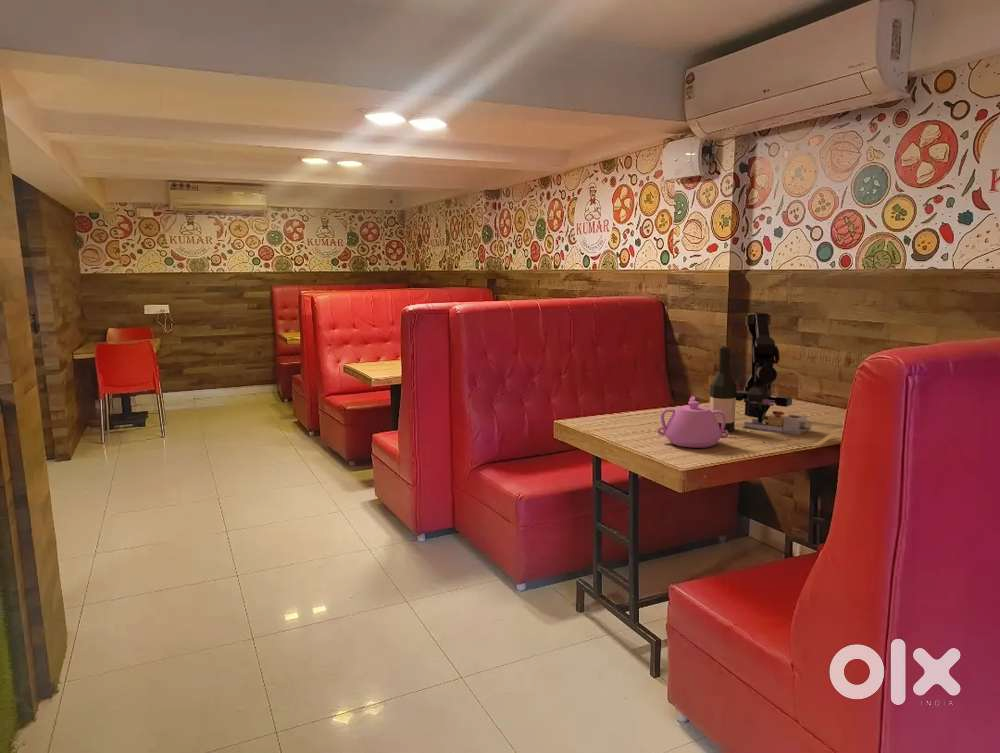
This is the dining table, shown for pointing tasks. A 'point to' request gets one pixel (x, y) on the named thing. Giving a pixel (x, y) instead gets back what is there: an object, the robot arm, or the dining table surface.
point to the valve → (774, 419)
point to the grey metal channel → (790, 425)
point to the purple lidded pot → (693, 426)
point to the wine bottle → (724, 391)
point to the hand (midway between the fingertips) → (760, 422)
